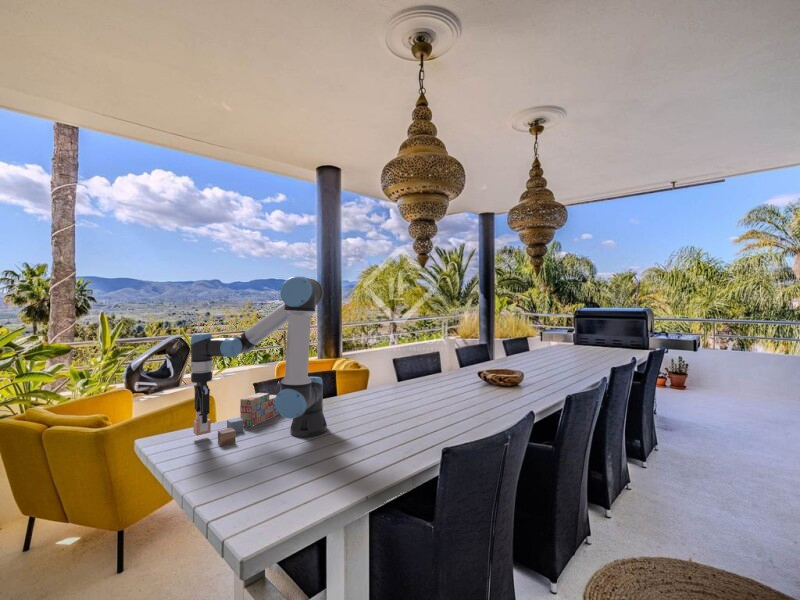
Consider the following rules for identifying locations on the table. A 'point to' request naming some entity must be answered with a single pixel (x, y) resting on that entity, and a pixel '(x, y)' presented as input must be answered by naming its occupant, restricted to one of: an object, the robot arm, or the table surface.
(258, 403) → the stack of blocks
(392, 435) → the table surface
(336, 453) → the table surface
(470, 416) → the table surface
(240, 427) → the slate rectangular block
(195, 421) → the terracotta cube
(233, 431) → the walnut cube
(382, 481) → the table surface
